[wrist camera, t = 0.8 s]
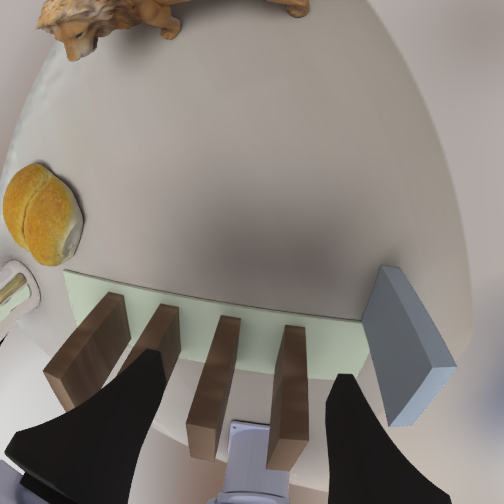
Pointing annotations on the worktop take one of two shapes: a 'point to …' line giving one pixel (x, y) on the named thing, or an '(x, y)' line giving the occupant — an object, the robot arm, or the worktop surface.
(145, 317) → the mat
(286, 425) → the domino
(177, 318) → the domino
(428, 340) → the domino
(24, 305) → the beer glass
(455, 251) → the worktop surface
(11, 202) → the bread roll
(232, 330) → the domino
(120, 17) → the lion figurine
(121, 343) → the domino
